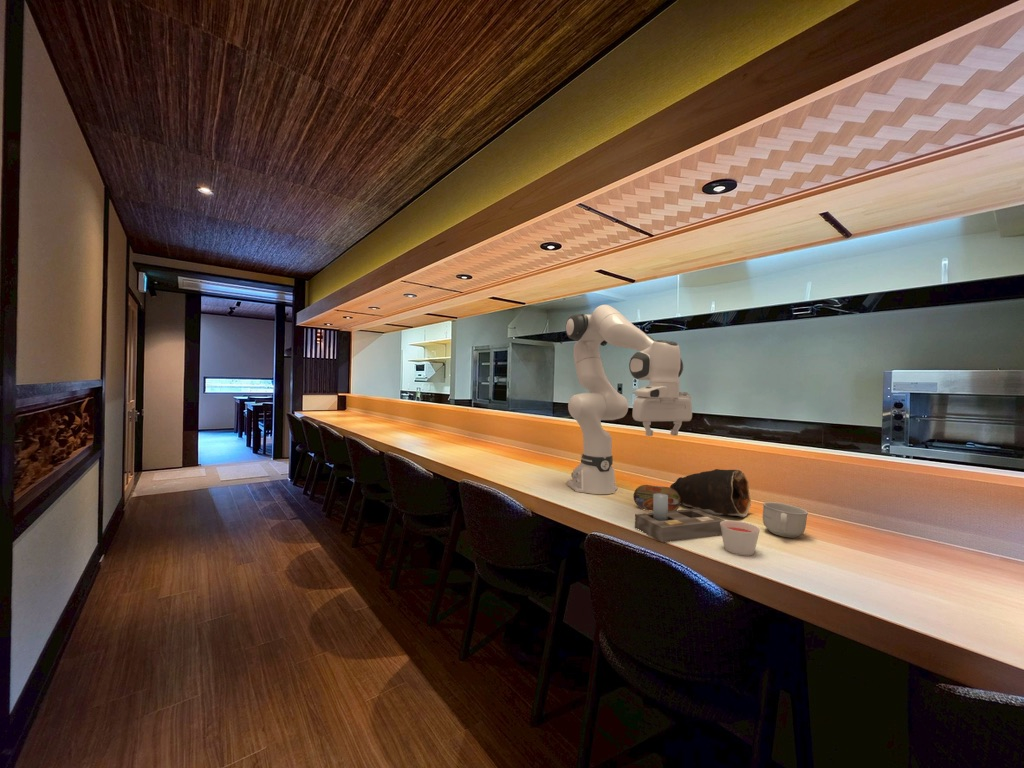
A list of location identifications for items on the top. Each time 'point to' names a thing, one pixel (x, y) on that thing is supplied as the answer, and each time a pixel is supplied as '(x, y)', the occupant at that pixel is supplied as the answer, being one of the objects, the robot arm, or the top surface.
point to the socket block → (679, 525)
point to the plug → (660, 507)
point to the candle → (739, 537)
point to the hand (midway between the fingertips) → (661, 435)
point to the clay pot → (715, 492)
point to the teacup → (784, 519)
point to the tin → (645, 497)
